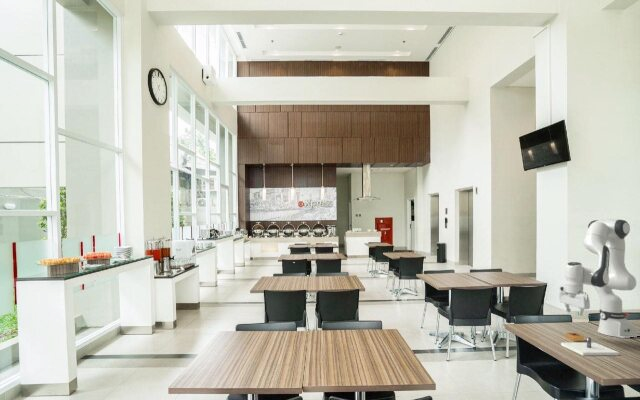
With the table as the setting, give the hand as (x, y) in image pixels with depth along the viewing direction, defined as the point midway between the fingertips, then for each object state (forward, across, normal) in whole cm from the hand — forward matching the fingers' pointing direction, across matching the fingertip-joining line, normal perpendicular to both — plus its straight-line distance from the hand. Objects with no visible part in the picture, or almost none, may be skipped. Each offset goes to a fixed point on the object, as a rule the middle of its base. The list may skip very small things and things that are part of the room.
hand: (574, 313), depth 227 cm
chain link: (+15, 0, -1) cm, 15 cm away
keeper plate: (+15, -18, +5) cm, 24 cm away
